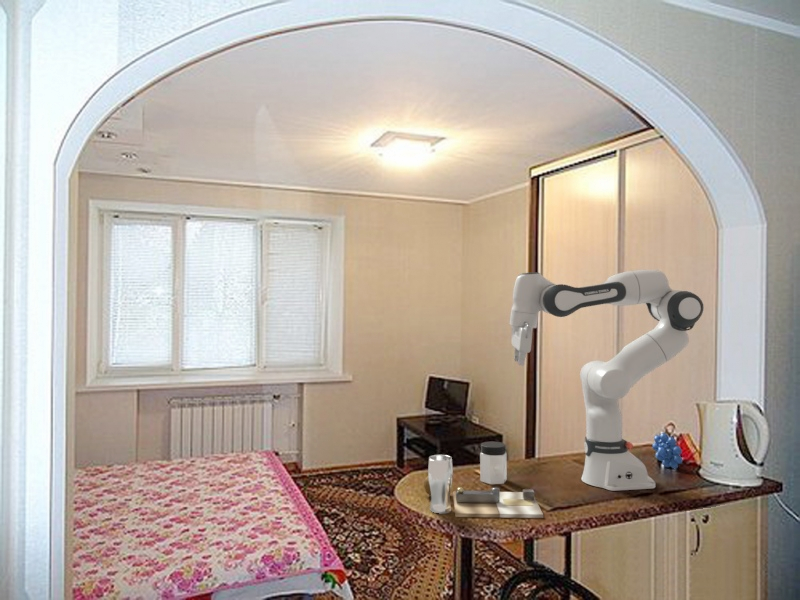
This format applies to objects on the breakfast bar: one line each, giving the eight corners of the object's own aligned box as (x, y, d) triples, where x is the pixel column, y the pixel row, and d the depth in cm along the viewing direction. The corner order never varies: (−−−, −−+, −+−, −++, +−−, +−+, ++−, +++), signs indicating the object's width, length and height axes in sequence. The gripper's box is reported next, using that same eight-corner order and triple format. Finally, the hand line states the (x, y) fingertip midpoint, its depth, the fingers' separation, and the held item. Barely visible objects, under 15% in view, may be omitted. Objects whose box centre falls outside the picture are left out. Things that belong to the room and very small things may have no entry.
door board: (531, 495, 177) (531, 484, 177) (543, 517, 159) (543, 505, 159) (452, 494, 178) (452, 483, 178) (455, 516, 160) (455, 504, 160)
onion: (452, 493, 179) (452, 467, 179) (443, 501, 172) (443, 474, 172) (430, 490, 182) (430, 464, 182) (419, 498, 175) (419, 471, 175)
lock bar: (499, 499, 170) (498, 486, 170) (500, 503, 167) (500, 490, 167) (455, 498, 170) (455, 486, 170) (456, 502, 167) (456, 489, 167)
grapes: (644, 465, 208) (644, 431, 208) (657, 462, 211) (657, 429, 211) (673, 473, 197) (673, 438, 197) (686, 470, 201) (686, 436, 201)
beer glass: (425, 512, 163) (424, 459, 163) (432, 504, 170) (432, 453, 170) (449, 516, 161) (448, 462, 161) (455, 507, 167) (455, 455, 167)
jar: (483, 485, 187) (483, 448, 186) (477, 477, 195) (476, 441, 195) (510, 483, 188) (510, 447, 188) (502, 476, 196) (502, 440, 196)
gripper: (538, 324, 178) (533, 368, 179) (528, 320, 199) (524, 360, 199) (518, 322, 179) (513, 366, 179) (510, 318, 199) (505, 358, 200)
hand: (518, 363), depth 189 cm, fingers open, 8 cm apart
